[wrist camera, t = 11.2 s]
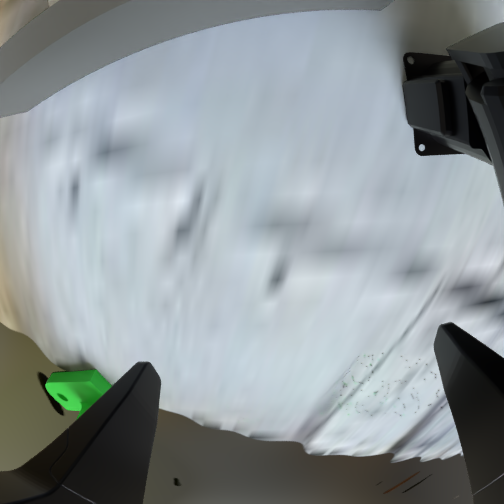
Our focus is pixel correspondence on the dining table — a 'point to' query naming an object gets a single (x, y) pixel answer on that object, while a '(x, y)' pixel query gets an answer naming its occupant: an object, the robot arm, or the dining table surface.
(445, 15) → the dining table surface
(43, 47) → the slab with two fins
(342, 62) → the dining table surface
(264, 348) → the dining table surface
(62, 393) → the mechanical part
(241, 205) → the dining table surface
